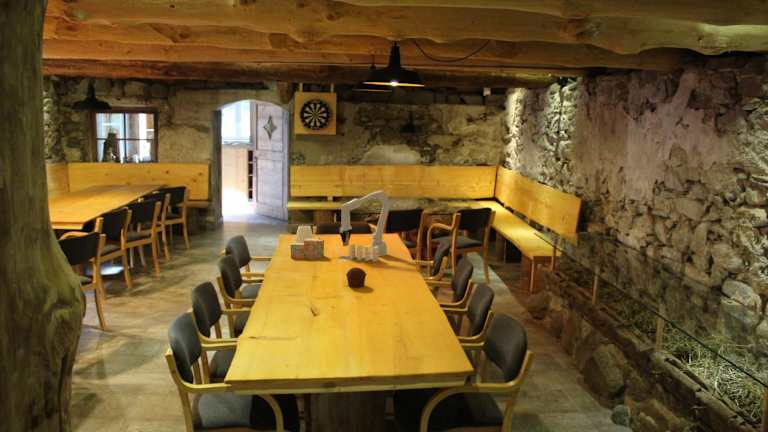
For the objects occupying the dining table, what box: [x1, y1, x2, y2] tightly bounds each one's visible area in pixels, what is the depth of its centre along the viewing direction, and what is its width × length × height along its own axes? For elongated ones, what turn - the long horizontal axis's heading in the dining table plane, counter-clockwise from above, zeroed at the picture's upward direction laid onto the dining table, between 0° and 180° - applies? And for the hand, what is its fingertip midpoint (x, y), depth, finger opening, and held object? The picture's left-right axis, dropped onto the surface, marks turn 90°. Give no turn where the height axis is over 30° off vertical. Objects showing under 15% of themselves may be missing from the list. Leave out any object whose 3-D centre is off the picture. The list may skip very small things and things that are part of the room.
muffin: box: [345, 267, 367, 289], centre depth 338 cm, size 12×11×10 cm
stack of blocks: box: [290, 238, 325, 260], centre depth 405 cm, size 21×6×12 cm, turn 85°
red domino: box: [342, 232, 350, 247], centre depth 409 cm, size 2×5×9 cm, turn 157°
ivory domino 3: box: [364, 245, 372, 262], centre depth 396 cm, size 2×5×9 cm, turn 158°
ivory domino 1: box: [348, 243, 356, 259], centre depth 400 cm, size 2×5×9 cm, turn 157°
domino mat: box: [337, 255, 380, 263], centre depth 399 cm, size 28×8×1 cm, turn 67°
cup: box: [294, 225, 315, 243], centre depth 440 cm, size 13×13×14 cm
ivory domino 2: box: [356, 244, 364, 261], centre depth 398 cm, size 2×5×9 cm, turn 157°
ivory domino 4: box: [372, 246, 379, 263], centre depth 394 cm, size 2×5×9 cm, turn 157°
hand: (345, 241), depth 409 cm, fingers closed on red domino, 5 cm apart
